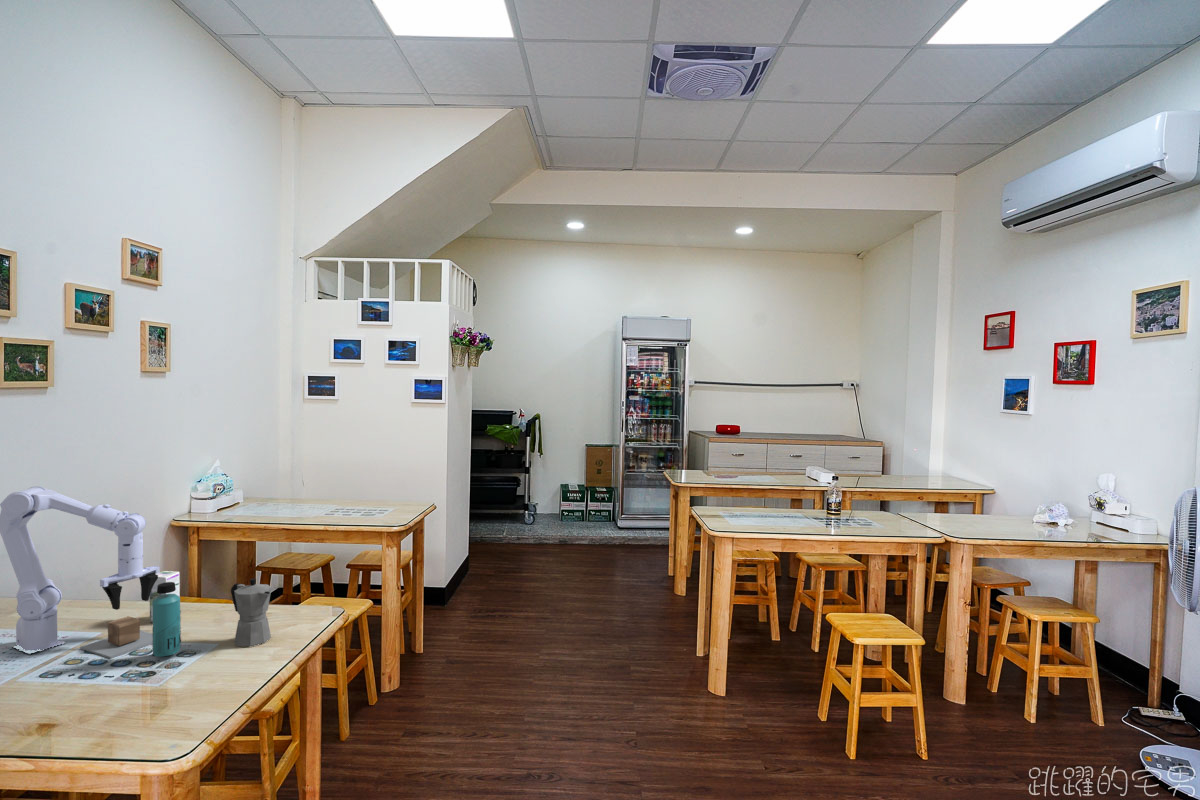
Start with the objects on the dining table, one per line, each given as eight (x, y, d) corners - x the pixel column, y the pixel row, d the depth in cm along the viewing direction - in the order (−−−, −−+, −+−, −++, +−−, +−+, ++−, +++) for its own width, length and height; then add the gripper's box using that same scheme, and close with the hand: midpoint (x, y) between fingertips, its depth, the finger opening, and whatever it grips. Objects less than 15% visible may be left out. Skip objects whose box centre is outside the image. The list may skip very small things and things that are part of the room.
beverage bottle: (166, 663, 163) (166, 588, 162) (145, 660, 164) (145, 586, 164) (187, 653, 169) (187, 580, 169) (167, 650, 171) (166, 578, 170)
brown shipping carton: (108, 642, 173) (107, 622, 173) (128, 635, 178) (128, 616, 177) (119, 645, 171) (119, 625, 171) (139, 638, 176) (139, 619, 175)
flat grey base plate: (80, 648, 171) (80, 627, 171) (135, 630, 184) (135, 610, 183) (110, 658, 165) (110, 636, 165) (165, 639, 178) (165, 618, 178)
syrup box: (180, 616, 195) (180, 570, 194) (165, 623, 189) (165, 576, 189) (163, 615, 195) (163, 569, 195) (148, 622, 190) (148, 575, 189)
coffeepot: (283, 638, 180) (283, 577, 179) (253, 651, 171) (254, 587, 171) (246, 629, 186) (246, 570, 185) (216, 641, 177) (216, 579, 177)
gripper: (110, 566, 169) (110, 615, 169) (166, 553, 182) (166, 598, 183) (95, 562, 172) (95, 611, 172) (150, 550, 185) (151, 595, 185)
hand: (130, 604), depth 178 cm, fingers open, 7 cm apart
